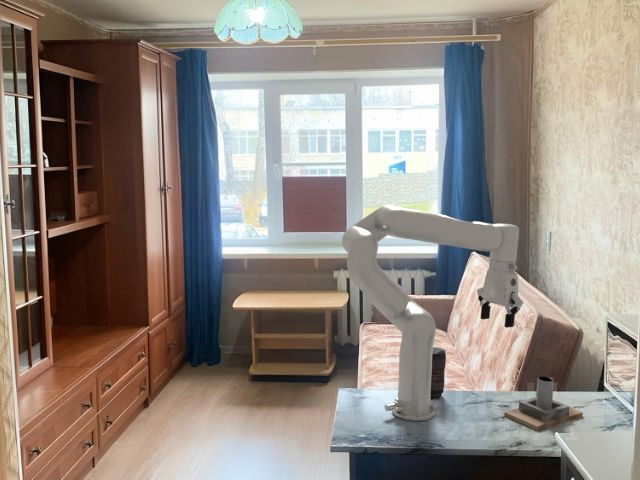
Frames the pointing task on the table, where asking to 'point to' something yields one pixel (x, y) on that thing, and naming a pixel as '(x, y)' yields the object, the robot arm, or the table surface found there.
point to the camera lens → (437, 373)
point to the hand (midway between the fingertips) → (496, 322)
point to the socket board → (542, 414)
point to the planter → (544, 392)
